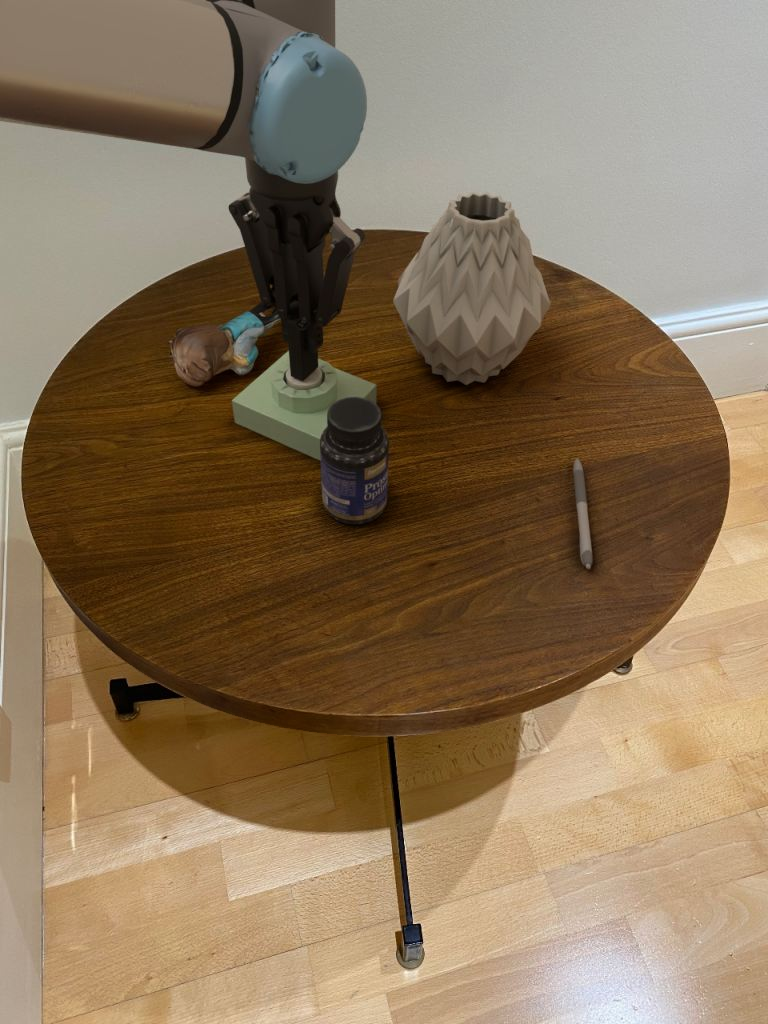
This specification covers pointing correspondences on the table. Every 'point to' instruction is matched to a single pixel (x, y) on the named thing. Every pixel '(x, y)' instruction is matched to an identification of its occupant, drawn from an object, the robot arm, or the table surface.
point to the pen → (582, 515)
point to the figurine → (220, 345)
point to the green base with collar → (296, 405)
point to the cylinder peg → (308, 383)
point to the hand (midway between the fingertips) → (304, 371)
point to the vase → (472, 290)
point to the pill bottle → (354, 461)
